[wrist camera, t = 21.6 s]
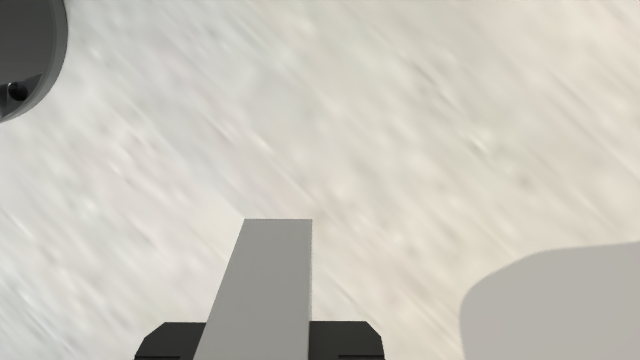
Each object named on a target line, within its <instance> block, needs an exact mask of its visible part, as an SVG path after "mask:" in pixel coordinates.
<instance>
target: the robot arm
mask: <svg viewBox="0 0 640 360" xmlns="http://www.w3.org/2000/svg"><path fill="white" fill-rule="evenodd" d="M66 47H67V21H66V14H65V9H64V5H63V2H62V0H0V123H2V122H5V121H8V120H11V119H14V118H16V117H18V116H20V115H22V114H24V113H26V112H27V111H29V110H30V109H32V108H33V107H34V106H35V105H37V104H38V103H39V102H40V101H41V100H42V99H43V98H44V97H45V96H46V94H47V93H48V92H49V91H50V89H51V88H52V86H53V85H54V83H55V81H56V79H57V77H58V76H59V73H60V71H61V68H62V65H63V62H64V58H65V54H66ZM134 360H385V358H384V350H383V345H382V340H381V336H380V335H379V334H378V333H377V332H376V331H375V330H374V329H373V328H372V327H371V326H370V325H369V324H368V323H367V322H366V321H312V219H245V220H244V223H243V225H242V228H241V231H240V233H239V236H238V239H237V242H236V244H235V247H234V250H233V252H232V255H231V258H230V261H229V263H228V266H227V269H226V271H225V274H224V277H223V280H222V282H221V285H220V288H219V290H218V293H217V296H216V299H215V301H214V304H213V307H212V309H211V312H210V315H209V318H208V320H207V323H196V322H165V323H163V324H162V325H161V326H159V327H158V328H157V329H155V330H154V331H153V332H151V333H150V334H149V335H147V336H146V337H145V338H144V340H143V342H142V343H141V345H140V347H139V349H138V351H137V353H136V354H135V358H134Z"/></svg>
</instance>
